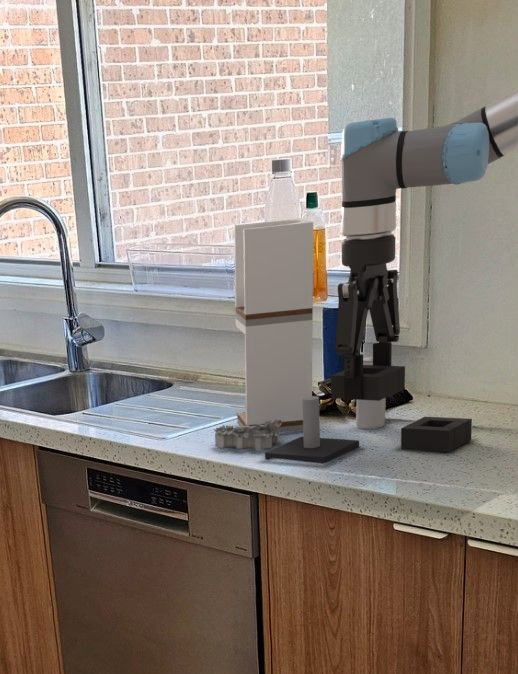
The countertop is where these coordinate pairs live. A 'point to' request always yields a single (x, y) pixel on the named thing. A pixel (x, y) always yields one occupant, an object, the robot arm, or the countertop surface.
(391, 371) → the black square ring block
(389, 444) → the countertop surface
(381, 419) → the beverage can
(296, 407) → the striped white tower
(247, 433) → the egg carton
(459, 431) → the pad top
